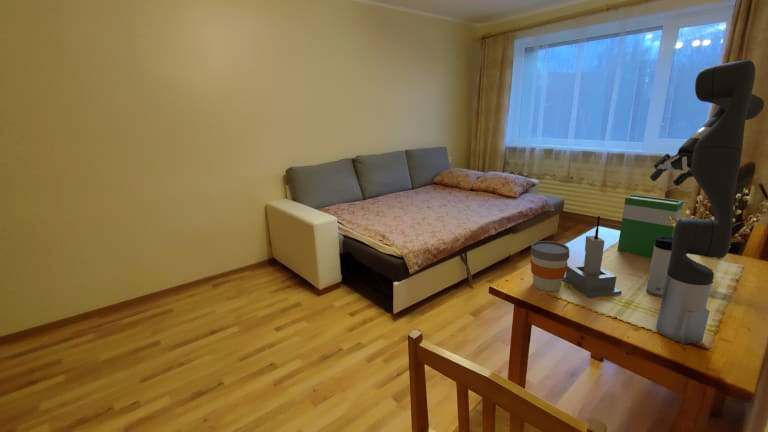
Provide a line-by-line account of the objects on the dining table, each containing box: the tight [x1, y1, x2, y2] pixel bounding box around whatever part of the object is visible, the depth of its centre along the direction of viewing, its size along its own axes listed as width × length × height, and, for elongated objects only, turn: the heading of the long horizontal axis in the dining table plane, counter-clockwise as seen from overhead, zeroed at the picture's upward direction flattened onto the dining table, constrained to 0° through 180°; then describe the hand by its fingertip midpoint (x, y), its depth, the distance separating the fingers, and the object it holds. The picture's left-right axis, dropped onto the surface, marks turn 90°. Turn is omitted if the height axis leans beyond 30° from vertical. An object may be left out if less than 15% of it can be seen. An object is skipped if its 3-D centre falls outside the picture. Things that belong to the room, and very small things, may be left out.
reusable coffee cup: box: [530, 240, 570, 292], centre depth 125 cm, size 13×13×15 cm
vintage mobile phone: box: [583, 215, 605, 276], centre depth 122 cm, size 4×5×25 cm
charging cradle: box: [562, 263, 622, 299], centre depth 125 cm, size 16×12×6 cm
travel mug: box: [645, 237, 673, 298], centre depth 116 cm, size 6×7×20 cm
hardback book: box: [617, 194, 684, 259], centre depth 147 cm, size 18×7×24 cm, turn 39°
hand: (663, 181), depth 116 cm, fingers open, 8 cm apart
